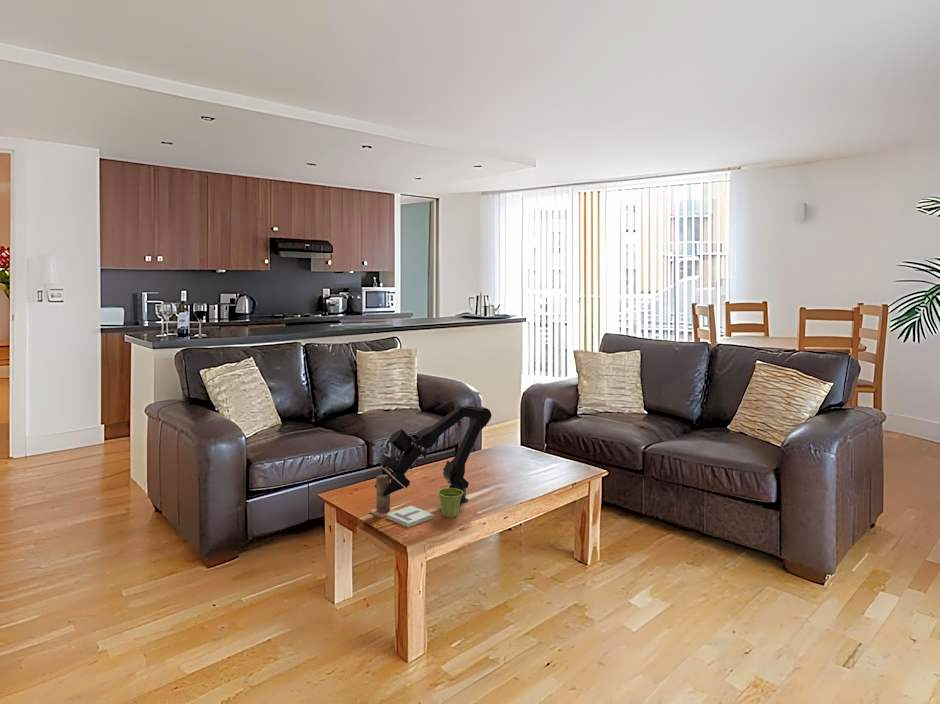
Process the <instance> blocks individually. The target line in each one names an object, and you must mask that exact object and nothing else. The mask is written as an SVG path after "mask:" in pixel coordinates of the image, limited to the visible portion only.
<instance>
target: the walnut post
mask: <svg viewBox="0 0 940 704" xmlns="http://www.w3.org/2000/svg"><path fill="white" fill-rule="evenodd" d="M375 479H376V481H375V485H376V487H375V489H376V499H375V500H376V508H377V512H379V513H387V512H389V511H390V508H391V494H389V495H387V496H383V493H384V491H385V490H386V488H387V487H388V485H389V484H390V482H391V479H390V476H389V475H380V474H378V475H377V476H376V477H375Z"/></svg>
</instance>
